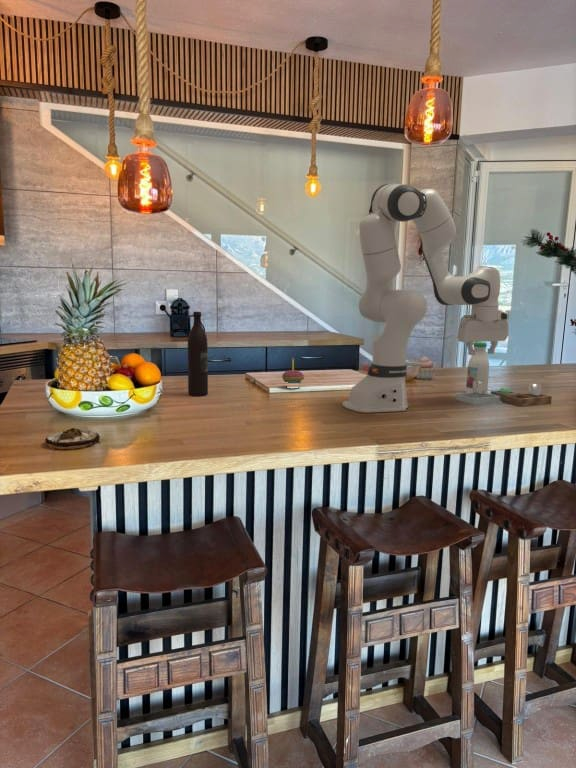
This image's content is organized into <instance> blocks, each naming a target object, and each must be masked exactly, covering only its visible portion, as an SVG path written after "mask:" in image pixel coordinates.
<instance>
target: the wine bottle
mask: <svg viewBox="0 0 576 768" xmlns="http://www.w3.org/2000/svg"><path fill="white" fill-rule="evenodd" d="M192 317H193V322H192V323H193V324H192V327H191V330H190V331H189V333H188V336H187V380H188V381H187V392H188V396H191V397H205V396H207V395H208V394H209V384H208V383H209V378H208V377H209V373H208V372H209V369H208V367H209V366H208V364H209V363H208V361H209V360H208V359H209V358H208V350H209V349H208V338H207V334H206V331H205V330H204V328H203V325H202V312H201V311H193V313H192Z"/></svg>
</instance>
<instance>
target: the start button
mask: <svg viewBox="0 0 576 768" xmlns="http://www.w3.org/2000/svg"><path fill="white" fill-rule="evenodd" d="M510 391H512V389H511V388H510V387H500V392H501V393H505V394H507V393H510Z"/></svg>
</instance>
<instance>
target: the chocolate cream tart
mask: <svg viewBox="0 0 576 768" xmlns="http://www.w3.org/2000/svg"><path fill="white" fill-rule="evenodd" d="M100 438H101V436H100V434H99V432H97V431H96V432H95V431H91V430H87V429H86V430H84V429H79V428H75V427H71V428H69V429H67V430H62V431H56V432H54V433H52V434H49V435H48V436H46V437H45V439H44V441H45V444H46V446H48V447H49V449H52V448H53V450H55V451H75V450H82V449H86V448H91V447H93V446H95V445H96V444H102V442H101V441H100Z"/></svg>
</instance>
